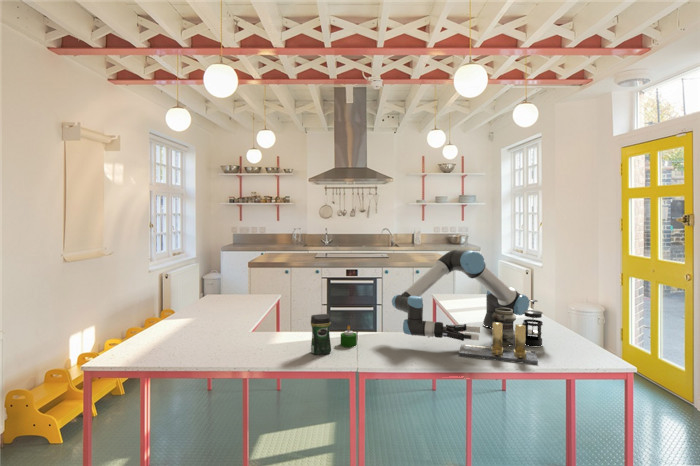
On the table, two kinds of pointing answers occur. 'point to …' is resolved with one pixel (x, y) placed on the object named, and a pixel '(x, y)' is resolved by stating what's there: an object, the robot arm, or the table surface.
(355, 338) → the candle
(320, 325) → the coffee jar
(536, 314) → the french press
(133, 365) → the table surface
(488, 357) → the bolt plate
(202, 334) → the table surface
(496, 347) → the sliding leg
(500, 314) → the grey brown stone vase
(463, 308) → the table surface
